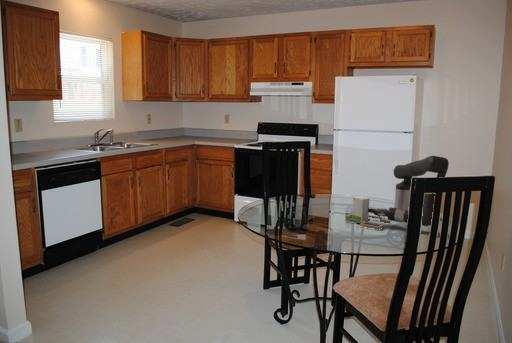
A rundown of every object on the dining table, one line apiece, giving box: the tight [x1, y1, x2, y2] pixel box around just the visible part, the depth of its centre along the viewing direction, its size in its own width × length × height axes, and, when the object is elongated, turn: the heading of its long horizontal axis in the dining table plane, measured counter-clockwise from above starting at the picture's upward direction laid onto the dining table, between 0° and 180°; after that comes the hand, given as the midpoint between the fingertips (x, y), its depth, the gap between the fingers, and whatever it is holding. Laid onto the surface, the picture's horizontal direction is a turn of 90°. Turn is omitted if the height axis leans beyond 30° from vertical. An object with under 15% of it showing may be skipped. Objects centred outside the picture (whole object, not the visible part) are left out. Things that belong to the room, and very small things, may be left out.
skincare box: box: [351, 195, 371, 223], centre depth 252 cm, size 8×7×16 cm
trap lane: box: [345, 212, 391, 231], centre depth 251 cm, size 24×24×4 cm
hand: (368, 210), depth 250 cm, fingers closed
